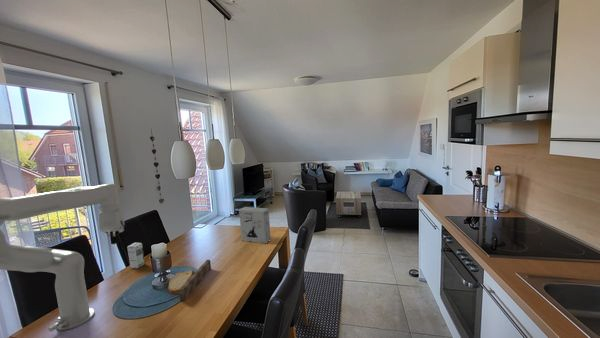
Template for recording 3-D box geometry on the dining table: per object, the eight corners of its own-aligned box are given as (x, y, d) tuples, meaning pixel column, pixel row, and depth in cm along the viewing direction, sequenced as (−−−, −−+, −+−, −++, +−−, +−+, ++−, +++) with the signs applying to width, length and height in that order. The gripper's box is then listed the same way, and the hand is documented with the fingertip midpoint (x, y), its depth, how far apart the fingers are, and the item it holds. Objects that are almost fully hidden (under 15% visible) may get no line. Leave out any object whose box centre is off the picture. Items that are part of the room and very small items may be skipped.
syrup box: (137, 268, 155) (134, 246, 153) (129, 267, 156) (126, 246, 155) (145, 263, 161) (142, 242, 159) (137, 263, 162) (134, 242, 160)
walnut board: (184, 301, 120) (182, 289, 119) (180, 301, 120) (179, 289, 119) (211, 269, 149) (210, 259, 149) (207, 269, 150) (206, 259, 149)
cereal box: (241, 241, 190) (238, 209, 188) (247, 237, 197) (244, 206, 194) (265, 244, 182) (263, 211, 179) (270, 240, 189) (268, 208, 186)
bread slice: (175, 297, 124) (174, 290, 124) (158, 286, 134) (157, 279, 134) (206, 279, 139) (206, 273, 138) (189, 271, 149) (188, 265, 149)
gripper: (89, 210, 122) (95, 246, 124) (118, 209, 120) (123, 245, 122) (102, 206, 129) (107, 240, 131) (129, 205, 128) (134, 239, 130)
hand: (115, 243), depth 127 cm, fingers closed
